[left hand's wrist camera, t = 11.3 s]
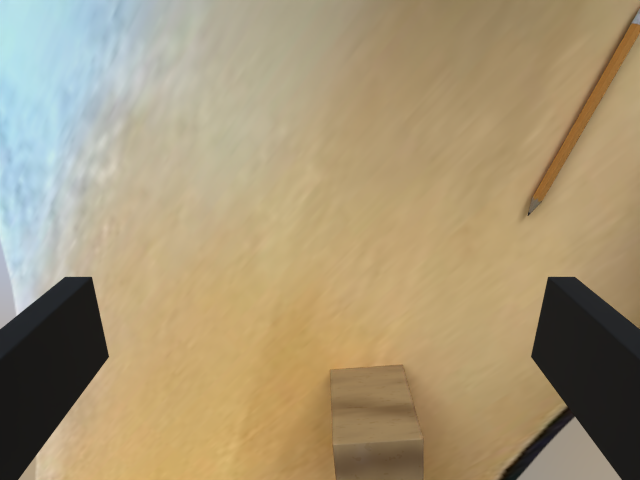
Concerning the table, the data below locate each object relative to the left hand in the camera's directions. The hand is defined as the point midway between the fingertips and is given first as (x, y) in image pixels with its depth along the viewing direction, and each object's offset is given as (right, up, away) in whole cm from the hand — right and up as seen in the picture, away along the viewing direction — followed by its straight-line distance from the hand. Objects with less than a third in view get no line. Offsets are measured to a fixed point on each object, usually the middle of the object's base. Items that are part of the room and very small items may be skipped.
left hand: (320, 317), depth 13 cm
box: (+6, -25, +40) cm, 47 cm away
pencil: (+23, +13, +25) cm, 36 cm away
